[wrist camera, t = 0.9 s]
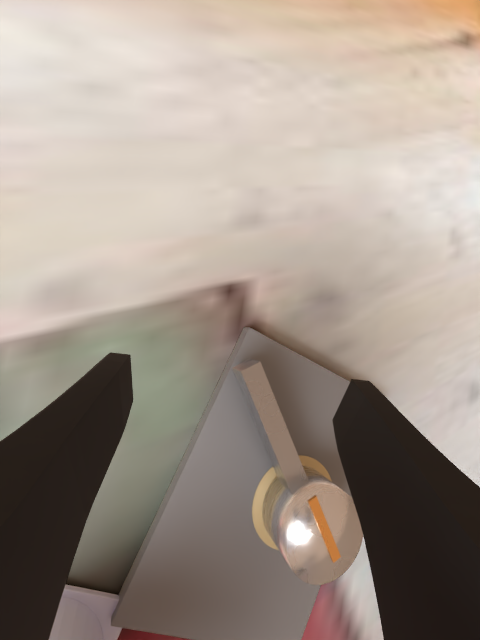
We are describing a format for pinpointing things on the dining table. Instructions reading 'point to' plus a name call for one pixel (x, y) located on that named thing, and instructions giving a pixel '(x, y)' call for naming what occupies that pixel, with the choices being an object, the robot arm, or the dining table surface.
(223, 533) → the board
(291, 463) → the tan piece
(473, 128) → the dining table surface
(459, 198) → the dining table surface
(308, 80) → the dining table surface
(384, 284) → the dining table surface
